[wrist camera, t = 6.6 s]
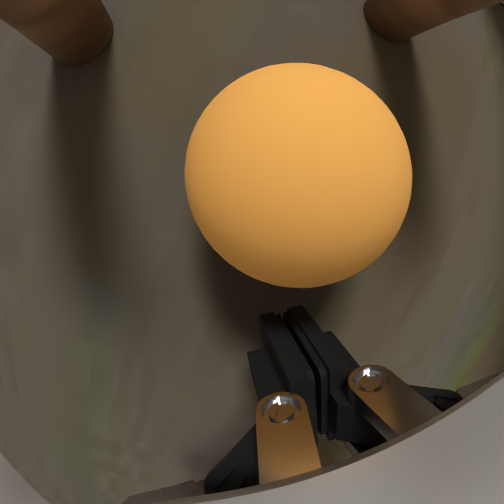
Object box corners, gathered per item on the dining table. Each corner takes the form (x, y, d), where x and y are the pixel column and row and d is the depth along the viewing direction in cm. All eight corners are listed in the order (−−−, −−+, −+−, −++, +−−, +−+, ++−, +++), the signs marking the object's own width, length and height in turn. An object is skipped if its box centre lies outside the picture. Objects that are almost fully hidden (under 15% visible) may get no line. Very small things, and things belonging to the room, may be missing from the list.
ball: (429, 295, 8) (342, 197, 12) (476, 84, 4) (339, 55, 9) (229, 363, 7) (201, 230, 12) (147, 106, 3) (164, 77, 8)
